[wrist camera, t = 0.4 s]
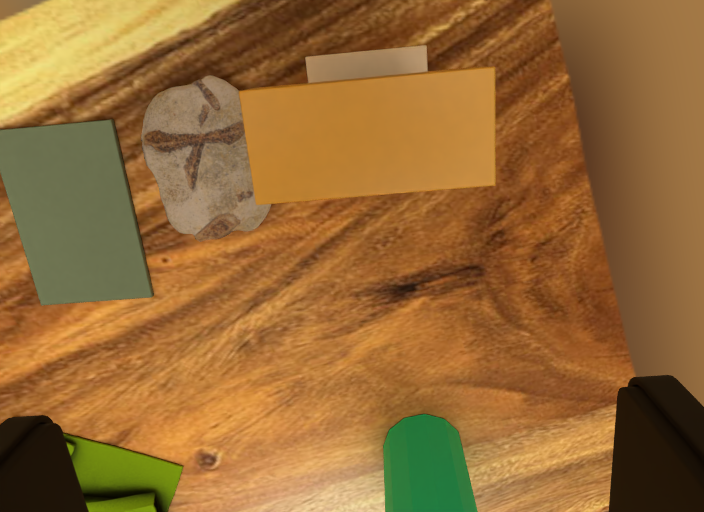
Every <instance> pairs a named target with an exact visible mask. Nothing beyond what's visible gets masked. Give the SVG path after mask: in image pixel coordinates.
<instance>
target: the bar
mask: <svg viewBox="0 0 704 512" xmlns="http://www.w3.org/2000/svg"><path fill="white" fill-rule="evenodd" d="M239 98H240V105H241V111H242V118H243V124H244V131H245V137H246V144H247V150H248V157H249V163H250V170H251V176H252V183H253V189H254V196H255V202H256V205H264V204H276V203H289V202H301V201H313V200H325V199H337V198H350V197H362V196H374V195H386V194H398V193H411V192H423V191H435V190H447V189H459V188H472V187H484V186H495V185H496V141H495V67H469V68H459V69H448V70H438V71H427V72H417V73H407V74H396V75H386V76H375V77H365V78H354V79H344V80H333V81H323V82H313V83H302V84H292V85H281V86H271V87H260V88H253V89H247V90H242V91H239Z"/></svg>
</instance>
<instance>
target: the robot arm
mask: <svg viewBox="0 0 704 512" xmlns="http://www.w3.org/2000/svg"><path fill="white" fill-rule="evenodd" d="M0 512H89V511H88V508H87V505H86V502H85V499H84V495H83V492H82V489H81V486H80V483H79V480H78V477H77V474H76V471H75V468H74V465H73V462H72V459H71V456H70V453H69V450H68V447H67V443H66V440H65V437H64V434H63V431H62V429H61V427H60V426H59V425H58V424H55V423H53V421H52V420H51V419H50V418H49V417H48V416H44V415H40V416H24V417H12V418H8V419H7V420H5V421H4V422H3V423H2V424H1V425H0ZM609 512H704V407H703V406H702V405H701V404H700V403H699V402H698V401H697V399H696V398H694V396H693V395H692V394H691V393H690V392H689V391H688V390H687V389H686V388H685V387H684V386H683V385H682V384H681V383H680V382H679V381H678V380H677V379H676V378H674V377H673V376H670V375H662V376H646V377H633V378H632V379H630V381H629V383H628V387H622V388H620V389H619V391H618V396H617V408H616V422H615V435H614V449H613V462H612V475H611V489H610V502H609Z"/></svg>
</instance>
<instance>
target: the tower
mask: <svg viewBox="0 0 704 512" xmlns="http://www.w3.org/2000/svg"><path fill="white" fill-rule="evenodd" d="M305 60H306V69H307V78H308V83H313V82H323V81H333V80H344V79H354V78H365V77H375V76H386V75H396V74H407V73H417V72H427V71H428V67H427V46H426V45H421V46H410V47H400V48H390V49H380V50H370V51H360V52H350V53H340V54H329V55H319V56H309V57H305Z"/></svg>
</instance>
